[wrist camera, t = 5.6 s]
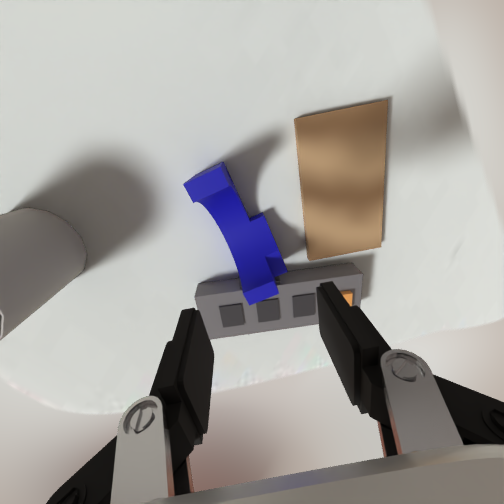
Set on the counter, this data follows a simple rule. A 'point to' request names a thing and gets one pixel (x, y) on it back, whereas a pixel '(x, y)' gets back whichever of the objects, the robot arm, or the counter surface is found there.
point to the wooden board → (342, 178)
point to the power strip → (273, 301)
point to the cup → (34, 262)
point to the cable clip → (240, 232)
